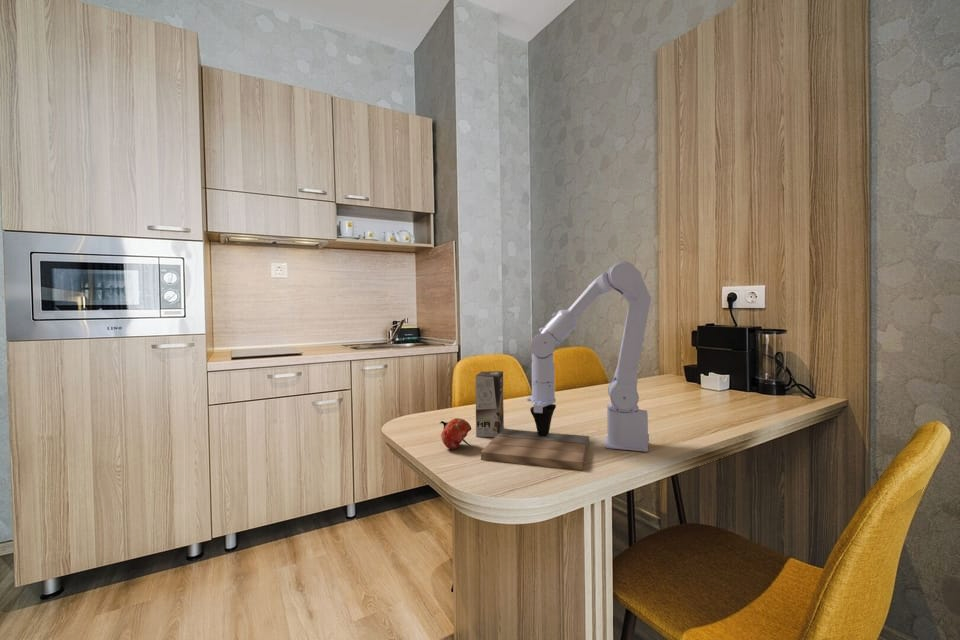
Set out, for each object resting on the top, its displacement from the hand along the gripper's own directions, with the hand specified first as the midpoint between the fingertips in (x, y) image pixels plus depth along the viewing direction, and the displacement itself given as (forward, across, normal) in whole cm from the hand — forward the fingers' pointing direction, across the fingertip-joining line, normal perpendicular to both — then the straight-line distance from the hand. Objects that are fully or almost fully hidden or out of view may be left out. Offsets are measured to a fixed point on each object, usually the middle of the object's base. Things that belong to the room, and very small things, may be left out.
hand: (543, 434), depth 107 cm
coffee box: (+2, -3, -15) cm, 15 cm away
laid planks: (+2, +11, 0) cm, 11 cm away
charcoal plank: (+1, +1, 0) cm, 2 cm away
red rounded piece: (+2, +11, -19) cm, 22 cm away
